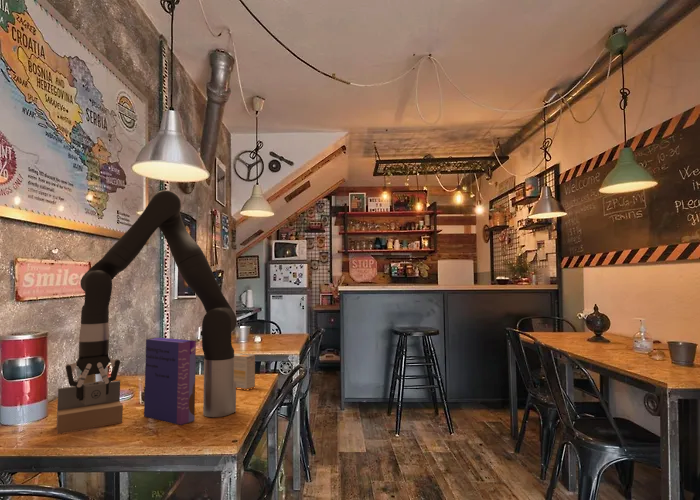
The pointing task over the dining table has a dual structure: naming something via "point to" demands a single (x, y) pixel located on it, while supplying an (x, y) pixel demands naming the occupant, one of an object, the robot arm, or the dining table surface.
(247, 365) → the supplement box
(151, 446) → the dining table surface
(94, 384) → the dice cube
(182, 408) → the cereal box
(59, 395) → the board
